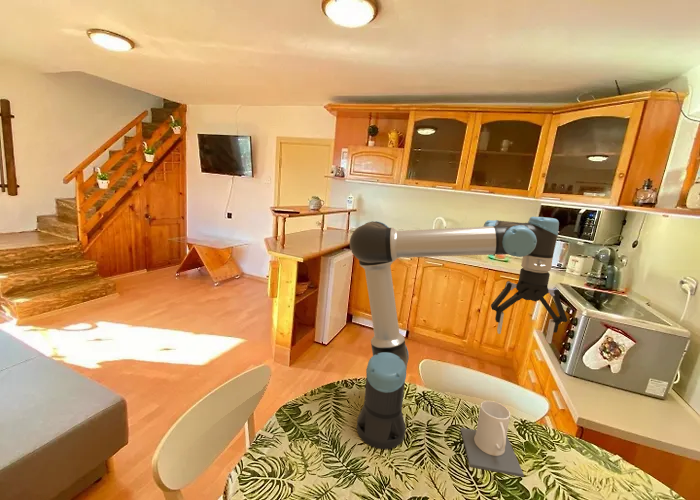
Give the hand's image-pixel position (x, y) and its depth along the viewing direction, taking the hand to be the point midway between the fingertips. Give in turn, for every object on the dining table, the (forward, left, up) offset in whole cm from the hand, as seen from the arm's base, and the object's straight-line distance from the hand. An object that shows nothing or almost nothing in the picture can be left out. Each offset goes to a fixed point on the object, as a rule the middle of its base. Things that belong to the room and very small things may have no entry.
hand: (522, 336), depth 95 cm
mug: (-6, -12, -32) cm, 35 cm away
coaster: (-6, -12, -33) cm, 35 cm away
